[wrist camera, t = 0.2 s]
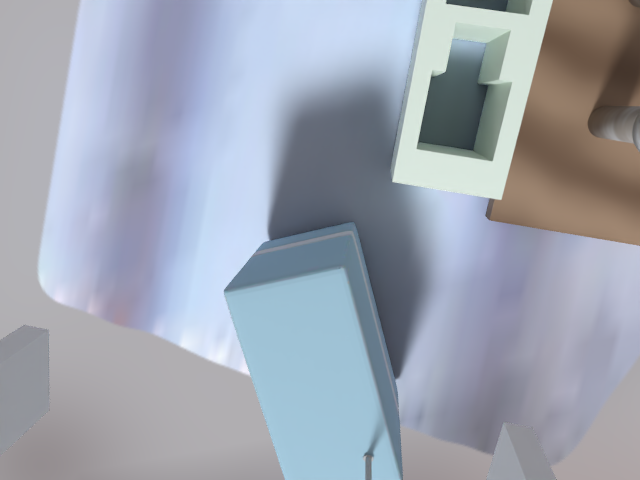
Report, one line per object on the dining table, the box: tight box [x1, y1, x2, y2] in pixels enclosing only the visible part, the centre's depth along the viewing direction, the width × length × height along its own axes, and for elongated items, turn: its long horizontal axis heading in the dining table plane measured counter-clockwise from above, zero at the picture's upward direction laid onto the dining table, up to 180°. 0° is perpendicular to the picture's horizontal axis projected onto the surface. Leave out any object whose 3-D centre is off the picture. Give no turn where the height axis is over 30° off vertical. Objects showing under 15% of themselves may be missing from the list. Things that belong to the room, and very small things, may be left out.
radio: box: [224, 222, 403, 480], centre depth 33 cm, size 16×9×20 cm, turn 15°
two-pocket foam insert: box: [390, 0, 553, 200], centre depth 32 cm, size 21×7×7 cm, turn 172°
